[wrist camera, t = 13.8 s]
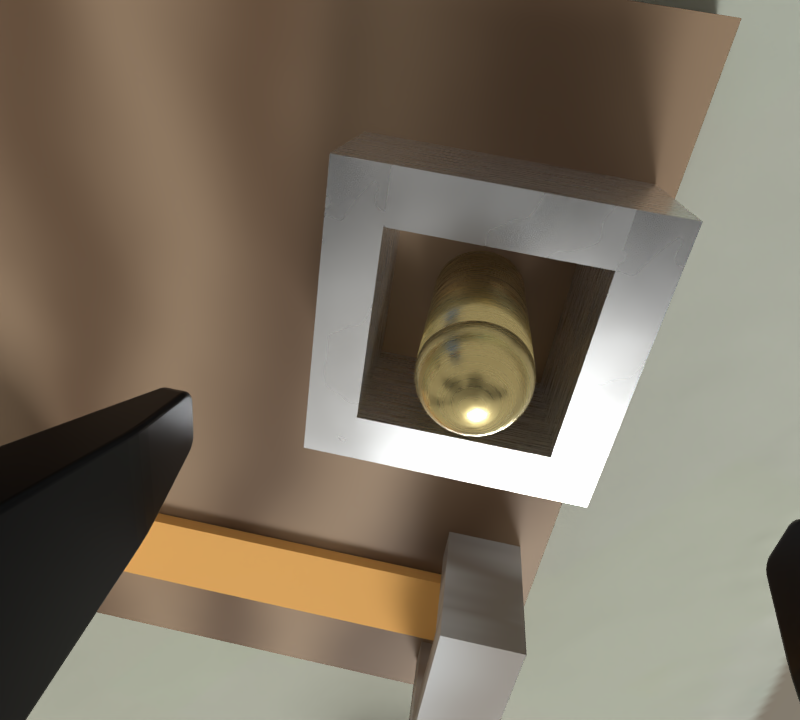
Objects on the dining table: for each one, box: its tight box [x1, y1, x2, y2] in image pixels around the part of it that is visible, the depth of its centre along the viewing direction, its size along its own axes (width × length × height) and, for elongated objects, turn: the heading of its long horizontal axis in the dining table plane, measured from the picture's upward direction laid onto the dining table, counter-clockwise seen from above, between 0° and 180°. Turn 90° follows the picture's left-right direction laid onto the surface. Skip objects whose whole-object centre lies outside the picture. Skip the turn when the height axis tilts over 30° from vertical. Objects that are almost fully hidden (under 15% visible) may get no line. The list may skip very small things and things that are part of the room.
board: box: [0, 0, 741, 720], centre depth 17 cm, size 20×24×6 cm
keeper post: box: [414, 251, 536, 436], centre depth 13 cm, size 2×2×6 cm
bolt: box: [124, 513, 441, 640], centre depth 19 cm, size 18×4×5 cm, turn 82°
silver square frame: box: [304, 132, 703, 507], centre depth 14 cm, size 7×7×4 cm
